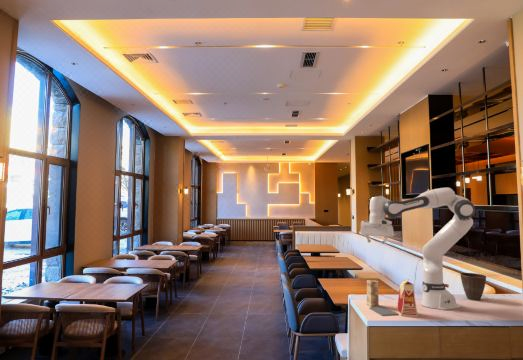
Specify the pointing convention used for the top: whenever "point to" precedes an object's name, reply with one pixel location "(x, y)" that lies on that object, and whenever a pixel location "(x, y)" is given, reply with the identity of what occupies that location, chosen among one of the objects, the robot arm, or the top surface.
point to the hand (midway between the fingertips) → (376, 243)
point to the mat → (383, 311)
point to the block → (372, 293)
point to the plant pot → (473, 285)
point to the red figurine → (407, 300)
